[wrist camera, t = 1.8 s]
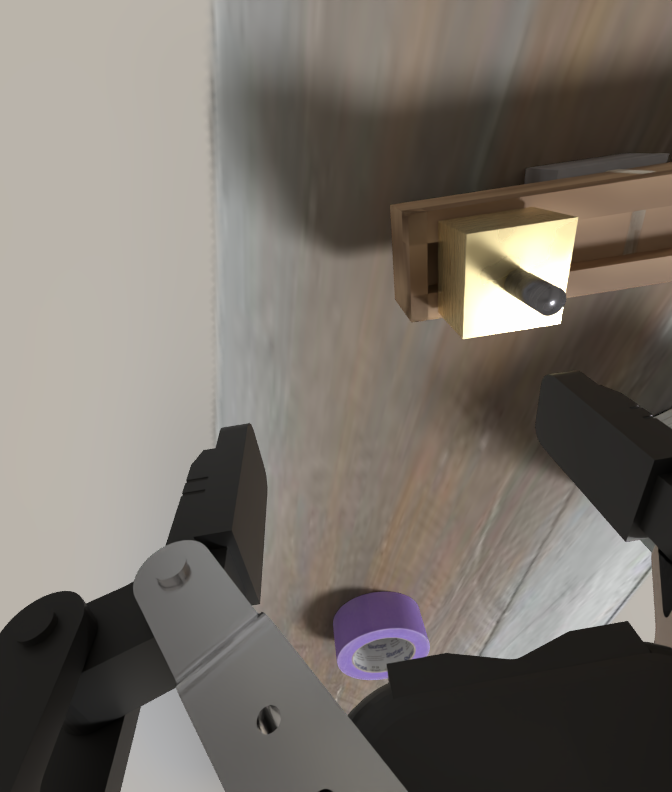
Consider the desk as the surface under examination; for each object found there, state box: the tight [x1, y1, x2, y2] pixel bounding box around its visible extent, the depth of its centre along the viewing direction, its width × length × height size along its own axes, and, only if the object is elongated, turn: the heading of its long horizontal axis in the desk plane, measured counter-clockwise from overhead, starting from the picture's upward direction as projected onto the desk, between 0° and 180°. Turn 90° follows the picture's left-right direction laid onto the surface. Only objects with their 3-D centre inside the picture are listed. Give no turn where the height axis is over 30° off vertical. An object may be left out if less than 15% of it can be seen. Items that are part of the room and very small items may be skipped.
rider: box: [438, 207, 578, 339], centre depth 20 cm, size 5×5×8 cm
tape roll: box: [333, 592, 430, 680], centre depth 53 cm, size 12×12×5 cm
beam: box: [390, 153, 672, 322], centre depth 27 cm, size 7×28×8 cm, turn 97°
